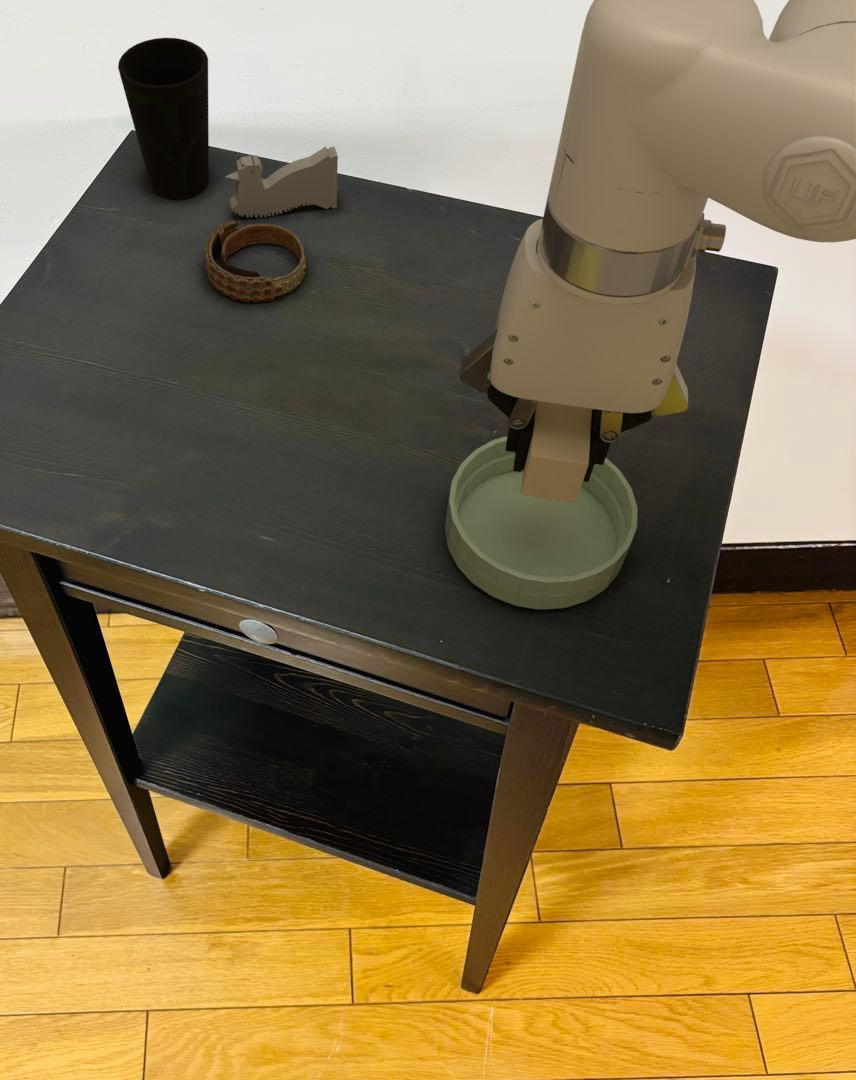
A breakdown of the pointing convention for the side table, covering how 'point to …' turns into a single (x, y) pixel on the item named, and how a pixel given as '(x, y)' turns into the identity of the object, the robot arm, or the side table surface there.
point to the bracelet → (246, 281)
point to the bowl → (537, 532)
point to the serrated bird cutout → (285, 185)
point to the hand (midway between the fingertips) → (552, 458)
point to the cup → (169, 113)
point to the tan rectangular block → (557, 452)
